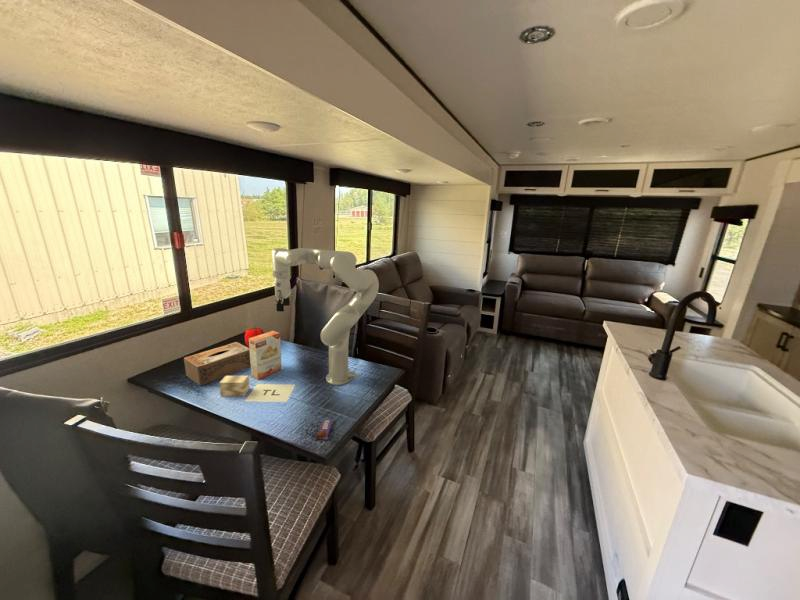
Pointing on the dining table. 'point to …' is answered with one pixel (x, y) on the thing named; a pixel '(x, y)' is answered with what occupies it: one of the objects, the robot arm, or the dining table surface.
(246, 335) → the tomato
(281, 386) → the mat
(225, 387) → the maple block
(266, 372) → the cracker box
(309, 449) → the dining table surface
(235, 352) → the tissue box cover
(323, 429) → the snack package
